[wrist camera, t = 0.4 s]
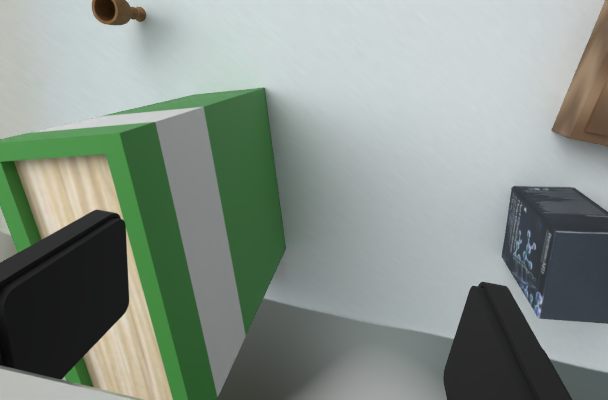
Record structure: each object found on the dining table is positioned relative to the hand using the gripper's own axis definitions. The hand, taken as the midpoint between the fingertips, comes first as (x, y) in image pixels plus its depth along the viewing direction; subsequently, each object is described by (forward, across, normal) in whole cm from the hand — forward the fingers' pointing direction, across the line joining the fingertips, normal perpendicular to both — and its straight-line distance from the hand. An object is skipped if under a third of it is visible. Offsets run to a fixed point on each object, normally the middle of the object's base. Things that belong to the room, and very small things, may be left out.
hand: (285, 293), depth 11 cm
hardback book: (+31, +10, +8) cm, 33 cm away
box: (+31, -20, +8) cm, 37 cm away
